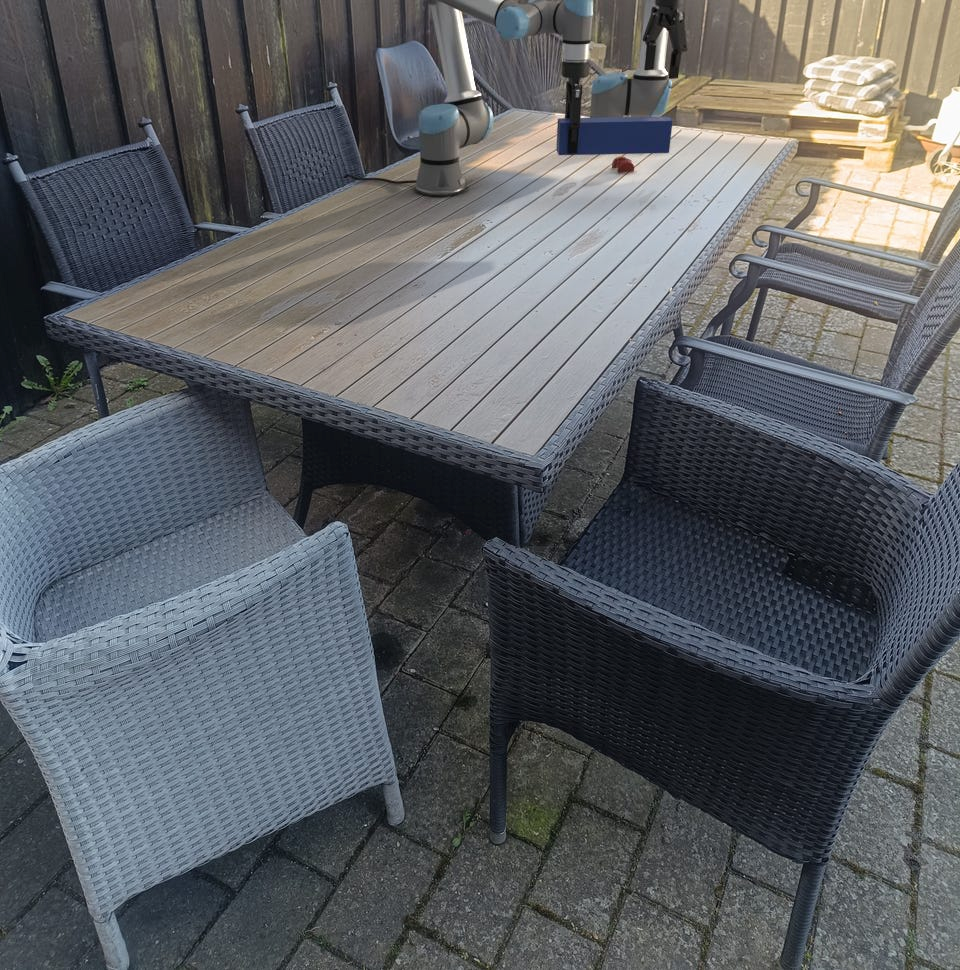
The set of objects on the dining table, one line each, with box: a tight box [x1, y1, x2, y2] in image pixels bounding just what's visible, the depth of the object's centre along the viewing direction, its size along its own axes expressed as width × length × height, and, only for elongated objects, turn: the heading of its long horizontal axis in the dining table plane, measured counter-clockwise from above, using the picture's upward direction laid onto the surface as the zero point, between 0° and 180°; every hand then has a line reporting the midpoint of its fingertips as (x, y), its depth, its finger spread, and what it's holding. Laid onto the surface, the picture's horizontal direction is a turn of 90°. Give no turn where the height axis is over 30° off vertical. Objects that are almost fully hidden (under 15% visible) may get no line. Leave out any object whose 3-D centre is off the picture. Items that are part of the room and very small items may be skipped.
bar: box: [555, 115, 674, 156], centre depth 239 cm, size 32×6×9 cm, turn 93°
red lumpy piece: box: [611, 156, 635, 174], centre depth 274 cm, size 6×4×8 cm
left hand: (570, 150), depth 240 cm, fingers closed on bar, 6 cm apart
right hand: (660, 74), depth 244 cm, fingers open, 13 cm apart
